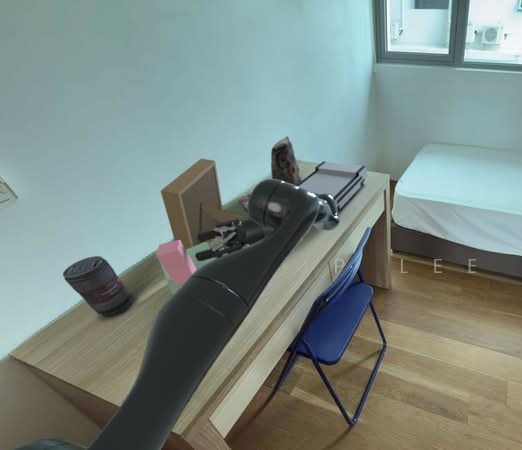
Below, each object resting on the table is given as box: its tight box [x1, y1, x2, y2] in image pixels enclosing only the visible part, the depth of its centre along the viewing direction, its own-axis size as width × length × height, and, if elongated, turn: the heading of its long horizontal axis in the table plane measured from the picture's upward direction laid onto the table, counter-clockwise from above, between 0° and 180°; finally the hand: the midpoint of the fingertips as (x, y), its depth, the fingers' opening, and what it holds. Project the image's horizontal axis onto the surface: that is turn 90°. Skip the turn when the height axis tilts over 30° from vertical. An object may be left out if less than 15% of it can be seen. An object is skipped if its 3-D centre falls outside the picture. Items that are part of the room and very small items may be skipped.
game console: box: [296, 161, 368, 214], centre depth 124 cm, size 21×32×8 cm, turn 161°
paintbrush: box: [238, 196, 250, 211], centre depth 121 cm, size 4×3×20 cm
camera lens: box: [62, 255, 134, 318], centre depth 78 cm, size 8×8×15 cm
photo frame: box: [160, 158, 244, 249], centre depth 99 cm, size 15×22×25 cm
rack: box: [159, 242, 217, 295], centre depth 86 cm, size 16×12×8 cm
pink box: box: [155, 240, 197, 285], centre depth 77 cm, size 4×4×10 cm
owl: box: [270, 135, 302, 185], centre depth 132 cm, size 13×13×20 cm
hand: (197, 247), depth 77 cm, fingers open, 8 cm apart
